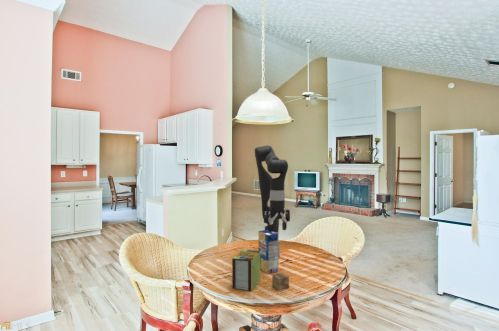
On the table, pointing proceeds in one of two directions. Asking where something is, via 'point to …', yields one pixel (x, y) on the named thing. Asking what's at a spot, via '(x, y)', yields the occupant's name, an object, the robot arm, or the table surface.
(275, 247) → the beverage box
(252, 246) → the table surface
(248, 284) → the protein box
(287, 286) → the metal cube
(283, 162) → the robot arm
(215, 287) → the table surface
